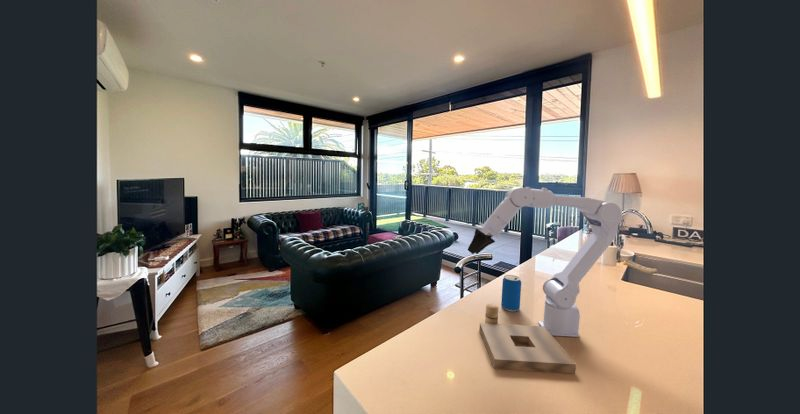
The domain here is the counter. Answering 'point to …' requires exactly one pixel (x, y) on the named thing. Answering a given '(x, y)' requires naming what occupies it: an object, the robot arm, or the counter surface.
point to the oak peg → (491, 314)
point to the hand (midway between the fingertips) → (472, 252)
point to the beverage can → (511, 293)
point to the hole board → (525, 348)
